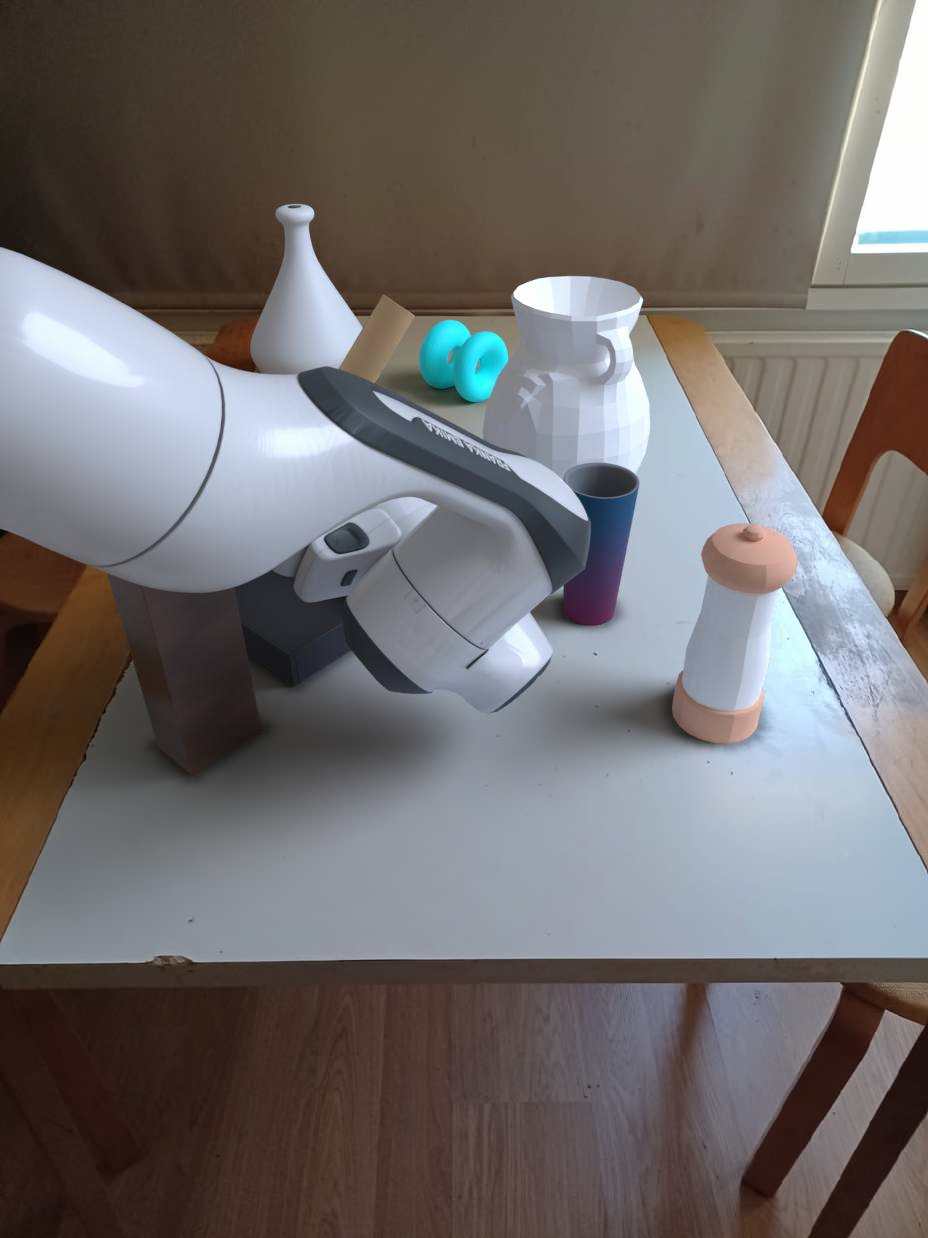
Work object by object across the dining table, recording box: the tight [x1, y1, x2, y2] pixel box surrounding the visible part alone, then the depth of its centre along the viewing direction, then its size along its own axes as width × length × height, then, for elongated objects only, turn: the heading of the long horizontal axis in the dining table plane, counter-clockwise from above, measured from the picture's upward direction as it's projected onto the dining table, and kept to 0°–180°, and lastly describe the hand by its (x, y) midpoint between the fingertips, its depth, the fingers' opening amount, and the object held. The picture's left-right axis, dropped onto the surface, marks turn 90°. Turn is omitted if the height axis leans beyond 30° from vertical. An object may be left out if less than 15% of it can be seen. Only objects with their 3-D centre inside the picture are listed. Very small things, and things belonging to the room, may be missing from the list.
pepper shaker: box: [671, 522, 798, 745], centre depth 73 cm, size 7×7×19 cm
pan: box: [234, 570, 352, 688], centre depth 90 cm, size 14×20×4 cm
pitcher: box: [482, 275, 651, 481], centre depth 100 cm, size 19×18×25 cm
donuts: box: [418, 319, 509, 403], centre depth 131 cm, size 10×10×10 cm
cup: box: [562, 462, 640, 627], centre depth 86 cm, size 7×7×15 cm
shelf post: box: [106, 573, 263, 777], centre depth 69 cm, size 7×5×26 cm
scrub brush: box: [339, 294, 415, 384], centre depth 73 cm, size 5×15×5 cm
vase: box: [249, 203, 363, 375], centre depth 131 cm, size 17×17×25 cm
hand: (289, 414), depth 75 cm, fingers closed on scrub brush, 5 cm apart
